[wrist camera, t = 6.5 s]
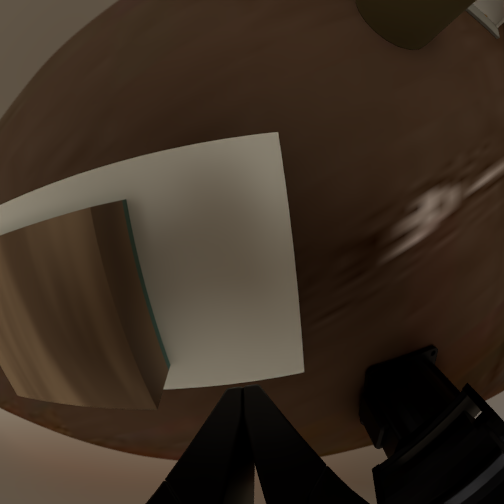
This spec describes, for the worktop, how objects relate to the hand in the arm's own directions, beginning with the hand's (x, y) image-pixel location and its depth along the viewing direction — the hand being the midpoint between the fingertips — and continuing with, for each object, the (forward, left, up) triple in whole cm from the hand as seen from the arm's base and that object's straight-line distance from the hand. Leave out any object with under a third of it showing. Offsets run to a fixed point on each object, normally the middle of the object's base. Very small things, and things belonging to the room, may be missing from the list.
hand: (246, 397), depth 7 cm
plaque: (+5, -1, -6) cm, 8 cm away
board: (+8, -1, -9) cm, 12 cm away
